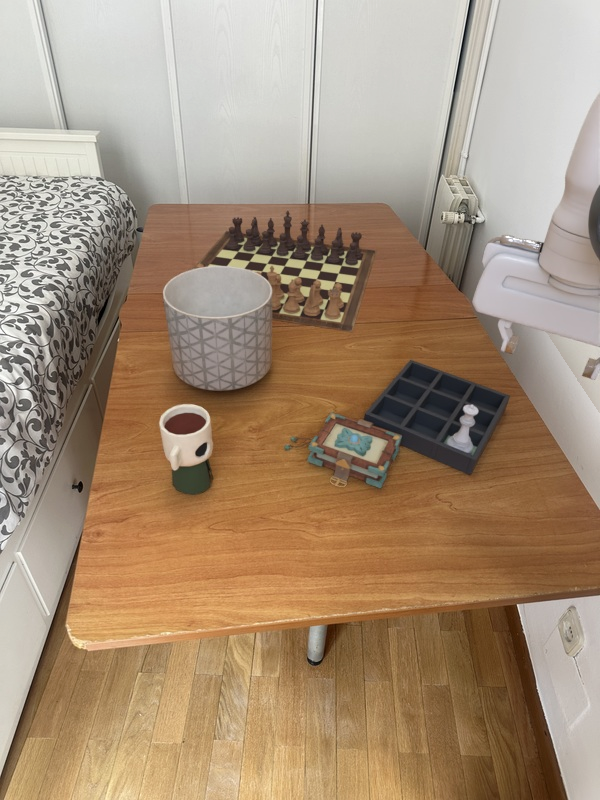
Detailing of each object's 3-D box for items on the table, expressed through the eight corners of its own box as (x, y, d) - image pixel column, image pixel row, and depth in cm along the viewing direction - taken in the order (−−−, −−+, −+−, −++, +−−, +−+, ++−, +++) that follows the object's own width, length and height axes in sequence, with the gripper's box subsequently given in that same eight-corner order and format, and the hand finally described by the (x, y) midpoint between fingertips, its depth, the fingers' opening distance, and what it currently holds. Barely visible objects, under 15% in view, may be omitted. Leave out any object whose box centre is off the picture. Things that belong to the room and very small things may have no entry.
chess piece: (472, 445, 91) (487, 399, 85) (470, 462, 88) (486, 417, 82) (446, 439, 92) (459, 393, 86) (443, 456, 89) (456, 410, 83)
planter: (272, 403, 99) (273, 317, 88) (168, 404, 98) (155, 317, 86) (271, 345, 114) (271, 266, 102) (180, 345, 112) (170, 265, 101)
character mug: (202, 513, 79) (195, 450, 71) (157, 504, 80) (144, 441, 72) (225, 461, 87) (221, 399, 79) (184, 453, 88) (175, 392, 80)
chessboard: (162, 302, 126) (156, 261, 119) (226, 231, 160) (224, 195, 153) (352, 332, 119) (357, 289, 112) (376, 250, 153) (381, 214, 147)
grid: (505, 410, 100) (510, 395, 98) (470, 475, 87) (476, 460, 85) (407, 374, 108) (410, 359, 105) (362, 428, 95) (364, 413, 92)
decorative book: (307, 415, 97) (309, 394, 94) (401, 447, 91) (406, 425, 88) (273, 463, 87) (273, 441, 84) (375, 502, 82) (380, 480, 79)
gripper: (479, 239, 58) (454, 348, 66) (697, 289, 49) (636, 406, 58) (497, 222, 62) (471, 326, 71) (700, 265, 54) (643, 377, 62)
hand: (547, 362), depth 64 cm, fingers open, 8 cm apart
